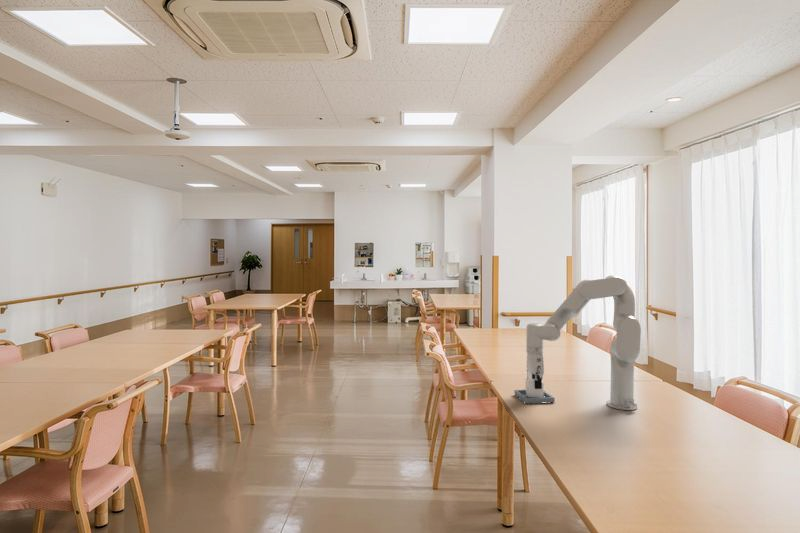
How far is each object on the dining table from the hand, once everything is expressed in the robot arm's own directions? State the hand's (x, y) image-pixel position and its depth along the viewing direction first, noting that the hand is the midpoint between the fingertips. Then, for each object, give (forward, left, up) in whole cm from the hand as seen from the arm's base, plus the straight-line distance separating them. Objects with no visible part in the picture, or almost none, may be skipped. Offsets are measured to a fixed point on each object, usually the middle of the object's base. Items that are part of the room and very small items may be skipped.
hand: (534, 385), depth 216 cm
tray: (0, 0, -6) cm, 6 cm away
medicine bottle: (0, 0, -5) cm, 5 cm away
